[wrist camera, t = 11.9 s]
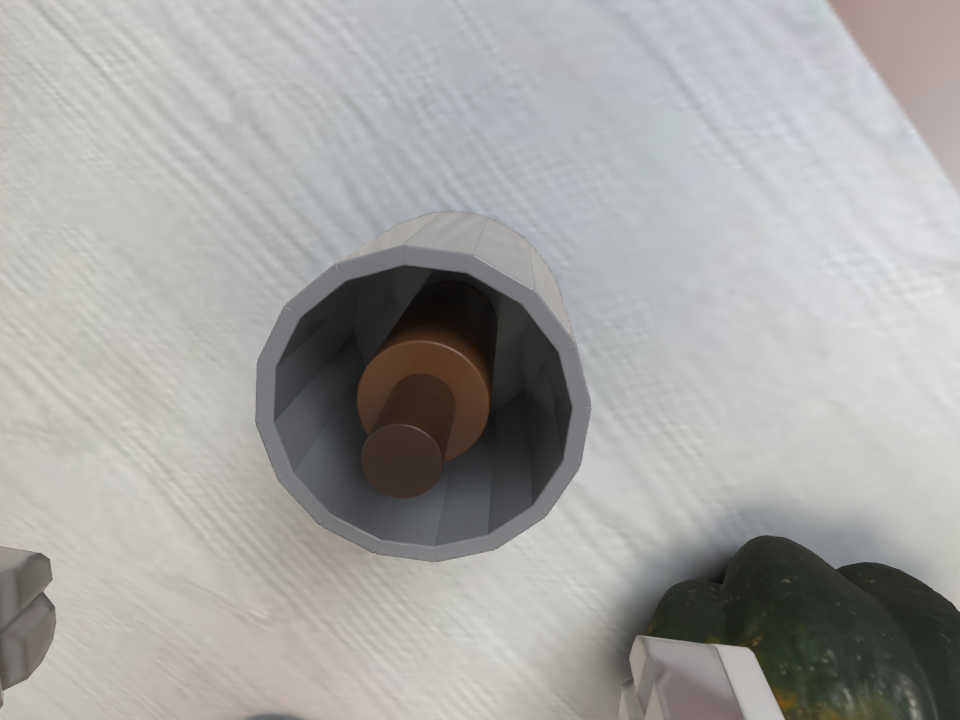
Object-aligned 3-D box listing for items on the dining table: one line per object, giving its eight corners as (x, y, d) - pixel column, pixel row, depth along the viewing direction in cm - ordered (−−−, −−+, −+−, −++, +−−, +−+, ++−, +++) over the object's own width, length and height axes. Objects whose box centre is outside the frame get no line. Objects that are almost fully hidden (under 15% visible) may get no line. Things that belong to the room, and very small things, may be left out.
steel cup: (354, 197, 26) (259, 225, 16) (579, 227, 26) (617, 273, 16) (340, 407, 28) (251, 538, 19) (544, 435, 28) (559, 580, 19)
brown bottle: (409, 274, 26) (324, 374, 14) (503, 286, 26) (493, 396, 14) (400, 363, 27) (315, 523, 15) (491, 376, 27) (473, 545, 15)
